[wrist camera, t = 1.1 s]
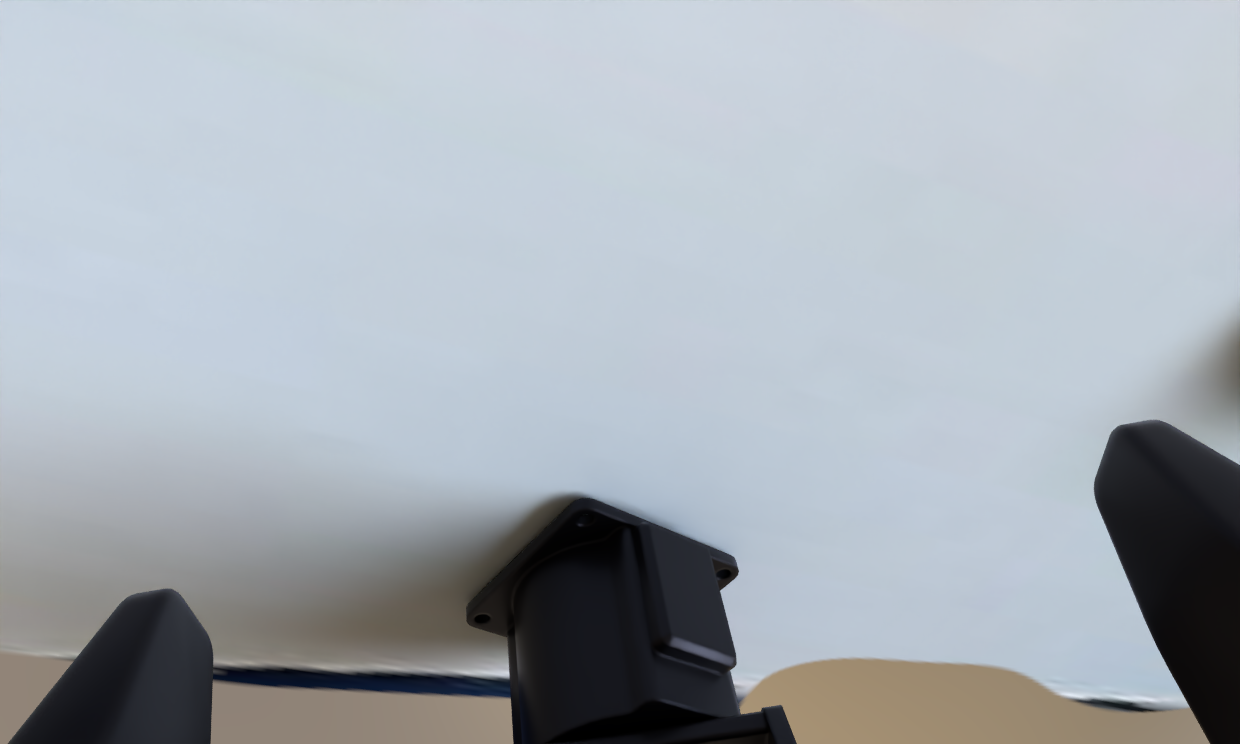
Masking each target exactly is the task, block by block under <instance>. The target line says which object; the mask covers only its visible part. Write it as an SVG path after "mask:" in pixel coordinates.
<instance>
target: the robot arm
mask: <svg viewBox="0 0 1240 744" xmlns="http://www.w3.org/2000/svg"><path fill="white" fill-rule="evenodd" d="M1094 494H1095V499H1096V503H1097V506H1098V509H1099V511H1100V513H1101V516H1102V518H1103V521H1104V523H1105V525H1106V528H1107V530H1108V533H1109V535H1110V537H1111V540H1112V542H1113V545H1114V547H1115V549H1116V552H1117V554H1118V557H1119V559H1120V561H1121V564H1122V566H1123V569H1124V571H1125V573H1126V576H1127V578H1128V581H1129V583H1130V585H1131V588H1132V590H1133V593H1134V595H1135V597H1136V600H1137V602H1138V605H1139V607H1140V609H1141V612H1142V614H1143V617H1144V619H1145V621H1146V624H1147V626H1148V628H1149V630H1150V632H1151V635H1152V637H1153V639H1154V641H1155V643H1156V645H1157V647H1158V649H1159V651H1160V653H1161V655H1162V657H1163V659H1164V661H1165V663H1166V665H1167V666H1168V668H1169V670H1170V672H1171V674H1172V676H1173V677H1174V679H1175V681H1176V683H1177V685H1178V686H1179V688H1180V690H1181V692H1182V694H1183V695H1184V697H1185V699H1186V701H1187V703H1188V704H1189V706H1190V708H1191V710H1192V711H1193V713H1194V715H1195V717H1196V719H1197V721H1198V723H1199V724H1200V726H1201V728H1202V730H1203V732H1204V733H1205V735H1206V737H1207V739H1208V741H1209V742H1210V744H1240V465H1238V464H1237V463H1235V462H1233V461H1232V460H1230V459H1228V458H1226V457H1225V456H1223V455H1221V454H1220V453H1218V452H1216V451H1214V450H1213V449H1211V448H1209V447H1208V446H1206V445H1204V444H1202V443H1201V442H1199V441H1197V440H1196V439H1194V438H1192V437H1191V436H1189V435H1187V434H1185V433H1184V432H1182V431H1180V430H1179V429H1177V428H1175V427H1173V426H1172V425H1170V424H1168V423H1166V422H1163V421H1160V420H1147V421H1142V422H1136V423H1130V424H1124V425H1120V426H1118V427H1117V428H1115V429H1114V430H1113V431H1112V433H1111V435H1110V437H1109V440H1108V443H1107V446H1106V448H1105V451H1104V454H1103V457H1102V460H1101V463H1100V466H1099V469H1098V472H1097V474H1096V477H1095V482H1094ZM584 514H587V515H584ZM738 572H739V570H738V567H737V563H736V560H735V558H734V557H733V556H731V555H729V554H726V553H724V552H721V551H719V550H717V549H714V548H712V547H709V546H707V545H704V544H702V543H699V542H697V541H695V540H692V539H690V538H687V537H685V536H682V535H680V534H678V533H675V532H673V531H670V530H668V529H665V528H663V527H660V526H658V525H656V524H653V523H651V522H648V521H646V520H643V519H641V518H638V517H636V516H634V515H631V514H629V513H626V512H624V511H621V510H619V509H616V508H614V507H612V506H609V505H607V504H604V503H602V502H599V501H597V500H594V499H590V498H582V499H579V500H575V501H574V502H573V503H571V504H570V505H569V506H568V507H567V508H566V509H565V510H564V511H563V512H562V513H561V514H560V515H559V516H558V517H557V518H556V519H555V520H554V521H553V522H552V523H551V524H550V525H549V526H548V527H546V528H545V529H544V530H543V531H542V532H541V533H540V534H539V535H538V536H537V537H536V538H535V539H534V540H533V541H532V542H531V543H530V544H529V545H528V546H527V547H526V548H525V549H524V550H523V551H522V552H521V553H520V554H519V555H518V556H517V557H516V558H515V559H514V560H513V561H512V562H511V563H510V564H509V565H508V566H507V567H506V568H505V569H504V570H503V571H502V572H501V573H500V574H499V575H498V576H497V577H496V578H495V579H494V580H493V581H491V582H490V583H489V584H488V585H487V586H486V587H485V588H484V589H483V590H482V591H481V592H480V593H479V594H478V595H477V596H476V597H475V598H474V599H473V600H472V601H471V602H470V603H469V604H468V606H467V607H466V615H467V623H468V624H469V625H471V626H473V627H475V628H478V629H482V630H485V631H488V632H492V633H495V634H498V635H501V636H505V637H508V654H509V672H510V689H511V706H512V724H513V741H514V744H797V743H796V741H795V738H794V736H793V733H792V730H791V728H790V725H789V723H788V720H787V718H786V715H785V712H784V710H783V707H782V706H781V705H778V706H771V707H765V708H762V710H761V712H754V713H748V714H741V713H740V709H739V705H738V701H737V697H736V693H735V688H734V684H733V680H732V676H731V672H730V670H731V669H732V668H734V667H735V666H736V653H735V649H734V645H733V641H732V637H731V633H730V629H729V625H728V621H727V617H726V613H725V609H724V605H723V601H722V597H721V593H720V590H721V589H723V588H724V587H725V586H726V585H728V584H729V583H730V582H731V581H732V580H734V579H735V578H736V577H737V575H738ZM212 683H213V649H212V644H211V641H210V638H209V636H208V634H207V632H206V631H205V629H204V628H203V626H202V625H201V623H200V622H199V621H198V619H197V618H196V616H195V615H194V613H193V612H192V610H191V609H190V608H189V606H188V605H187V603H186V602H185V600H184V599H183V598H182V596H181V595H180V594H179V593H178V592H177V591H175V590H173V589H160V590H155V591H149V592H143V593H137V594H134V595H131V596H129V597H127V598H126V599H125V600H124V601H122V602H121V603H120V604H119V606H118V607H117V608H116V609H115V611H114V612H113V613H112V614H111V616H110V617H109V618H108V619H107V621H106V622H105V623H104V624H103V626H102V627H101V628H100V629H99V631H98V632H97V633H96V634H95V635H94V637H93V638H92V639H91V640H90V642H89V643H88V644H87V645H86V647H85V648H84V649H83V650H82V652H81V653H80V654H79V655H78V657H77V658H76V659H75V660H74V662H73V663H72V664H71V665H70V667H69V668H68V669H67V670H66V672H65V673H64V674H63V675H62V677H61V678H60V679H59V680H58V682H57V683H56V684H55V686H54V687H53V688H52V689H51V690H50V692H49V693H48V694H47V695H46V697H45V698H44V699H43V700H42V702H41V703H40V704H39V705H38V707H37V708H36V709H35V711H34V712H33V713H32V714H31V715H30V717H29V718H28V719H27V720H26V722H25V723H24V724H23V725H22V727H21V728H20V729H19V730H18V732H17V733H16V734H15V735H14V737H13V738H12V739H11V740H10V741H9V743H8V744H210V741H211V712H212Z"/></svg>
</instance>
